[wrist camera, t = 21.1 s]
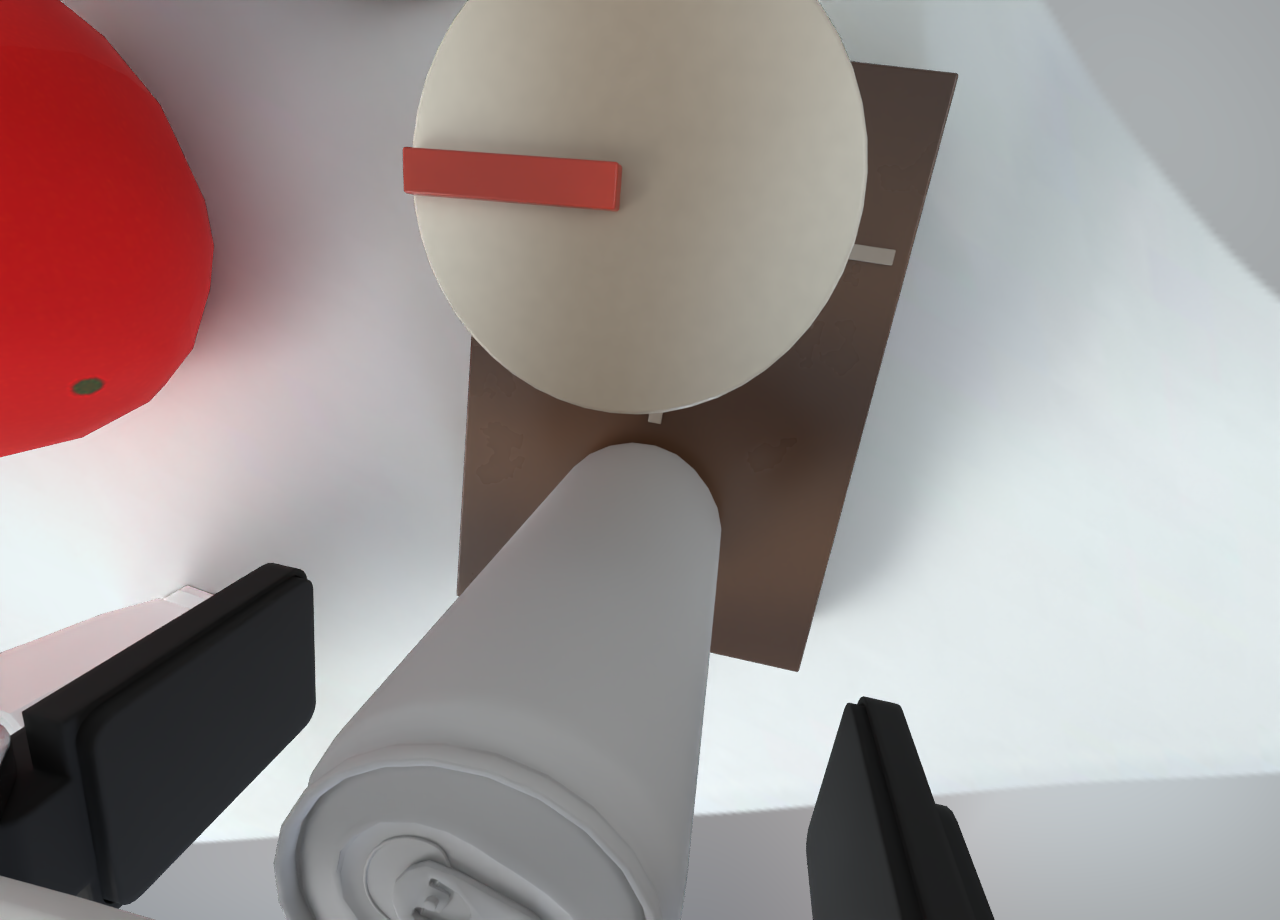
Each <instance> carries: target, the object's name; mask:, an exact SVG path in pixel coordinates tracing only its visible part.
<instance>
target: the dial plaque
mask: <svg viewBox="0 0 1280 920" xmlns="http://www.w3.org/2000/svg"><path fill="white" fill-rule="evenodd" d="M850 62H851V64H852V67H853V69H854V73H855V77H856V80H857V84H858V88H859V91H860V95H861V99H862V103H863V110H864V117H865V124H866V132H867V164H868V174H867V182H866V191H865V199H864V207H863V212H862V216H861V220H860V224H859V228H858V232H857V236H856V240H855V243H854V246H853V248H852V251H851V253H850V256H849V259H848V261H847V264H846V266H845V269H844V272H843V274H842V276H841V277H840V279H839V281H838V283H837V285H836V287H835V289H834V291H833V293H832V294H831V296H830V298H829V300H828V302H827V303H826V305H825V306H824V307H823V309H822V310H821V312H820V313H819V315H818V316H817V317H816V319H815V320H814V322H813V323H812V325H811V326H810V327H809V328H808V330H807V331H806V332H805V333H804V334H803V335H802V336H801V337H800V338H799V340H798V341H797V342H796V343H795V344H794V345H793V346H792V347H791V348H790V350H788V351H787V352H786V353H785V354H784V355H783V356H782V357H780V358H779V359H778V360H777V361H776V362H775V363H773V364H772V365H771V366H770V367H769V368H768V369H766V370H765V371H763V372H762V373H760V374H759V375H757V376H756V377H754V378H753V379H751V380H750V381H748V382H747V383H745V384H744V385H742V386H740V387H738V388H736V389H734V390H732V391H730V392H728V393H726V394H724V395H722V396H720V397H718V398H716V399H713V400H710V401H707V402H704V403H701V404H698V405H695V406H692V407H689V408H684V409H679V410H674V411H669V412H664V413H650V414H622V413H609V412H603V411H598V410H593V409H588V408H583V407H580V406H577V405H574V404H571V403H568V402H565V401H562V400H559V399H557V398H555V397H553V396H551V395H549V394H546V393H544V392H542V391H540V390H538V389H536V388H534V387H533V386H531V385H529V384H528V383H526V382H525V381H523V380H522V379H520V378H518V377H517V376H515V375H514V374H512V373H511V372H510V371H509V370H507V369H506V368H505V367H504V366H503V365H501V364H500V363H499V362H498V361H497V360H495V359H494V358H493V357H492V356H491V355H490V354H489V353H488V352H487V351H486V350H485V349H484V348H483V347H482V346H481V345H480V344H479V343H478V342H477V341H476V340H475V339H474V337H473V336H472V337H471V354H470V371H469V388H468V406H467V423H466V440H465V457H464V475H463V492H462V509H461V527H460V544H459V561H458V578H457V596H460V595H461V594H462V593H463V592H464V591H465V589H466V588H467V587H468V586H469V585H470V584H471V583H472V582H473V580H474V579H475V578H476V577H477V576H478V575H479V574H480V572H481V571H482V570H483V569H484V568H485V567H486V566H487V565H488V563H489V562H490V561H491V560H492V559H493V558H494V557H495V556H496V554H497V553H498V552H499V551H500V550H501V549H502V548H503V546H504V545H505V544H506V543H507V542H508V541H509V540H510V539H511V537H512V536H513V535H514V534H515V533H516V532H517V531H518V529H519V528H520V527H521V526H522V525H523V524H524V523H525V522H526V520H527V519H528V518H529V517H530V516H531V515H532V514H533V512H534V511H535V510H536V509H537V508H538V507H539V506H540V505H541V503H542V502H543V501H544V500H545V499H546V498H547V497H548V496H549V494H550V493H551V492H552V491H553V490H554V489H555V488H556V486H557V485H558V484H559V483H560V482H561V481H562V480H563V479H564V477H565V476H566V475H567V474H568V473H569V472H570V471H571V469H572V468H573V467H574V466H576V465H577V464H578V463H579V462H581V461H582V460H583V459H584V458H586V457H587V456H588V455H589V454H591V453H594V452H596V451H598V450H601V449H603V448H605V447H608V446H611V445H618V444H626V443H639V444H647V445H655V446H657V447H660V448H662V449H665V450H667V451H669V452H672V453H674V454H677V455H678V456H679V457H680V458H681V459H683V460H684V461H685V462H686V463H687V464H689V465H690V466H691V467H692V468H693V469H694V470H695V471H696V472H697V474H698V475H699V476H700V478H701V479H702V480H703V482H704V483H705V484H706V486H707V487H708V488H709V491H710V493H711V495H712V497H713V499H714V502H715V504H716V506H717V508H718V513H719V518H720V524H721V539H720V551H719V562H718V574H717V584H716V595H715V605H714V615H713V626H712V636H711V646H710V652H711V653H715V654H719V655H724V656H728V657H733V658H737V659H742V660H746V661H751V662H755V663H760V664H764V665H769V666H773V667H777V668H782V669H786V670H791V671H795V672H798V671H799V668H800V665H801V661H802V657H803V653H804V650H805V646H806V642H807V639H808V635H809V631H810V627H811V624H812V620H813V616H814V612H815V609H816V605H817V601H818V598H819V594H820V590H821V586H822V583H823V579H824V575H825V571H826V568H827V564H828V560H829V557H830V553H831V549H832V545H833V542H834V538H835V534H836V531H837V527H838V523H839V519H840V516H841V512H842V508H843V504H844V501H845V497H846V493H847V490H848V486H849V482H850V478H851V475H852V471H853V467H854V463H855V460H856V456H857V452H858V449H859V445H860V441H861V437H862V434H863V430H864V426H865V422H866V419H867V415H868V411H869V408H870V404H871V400H872V396H873V393H874V389H875V385H876V381H877V378H878V374H879V370H880V367H881V363H882V359H883V355H884V352H885V348H886V344H887V340H888V337H889V333H890V329H891V326H892V322H893V318H894V314H895V311H896V307H897V303H898V300H899V296H900V292H901V288H902V285H903V281H904V277H905V273H906V270H907V266H908V262H909V259H910V255H911V251H912V247H913V244H914V240H915V236H916V232H917V229H918V225H919V221H920V218H921V214H922V210H923V206H924V203H925V199H926V195H927V191H928V188H929V184H930V180H931V177H932V173H933V169H934V165H935V162H936V158H937V154H938V150H939V147H940V143H941V139H942V136H943V132H944V128H945V124H946V121H947V117H948V113H949V110H950V106H951V102H952V98H953V95H954V91H955V87H956V83H957V80H958V74H957V73H951V72H942V71H933V70H924V69H915V68H906V67H897V66H889V65H880V64H871V63H862V62H853V61H850Z"/></svg>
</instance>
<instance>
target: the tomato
mask: <svg viewBox="0 0 1280 920" xmlns="http://www.w3.org/2000/svg"><path fill="white" fill-rule="evenodd" d="M213 250H214V244H213V239H212V234H211V229H210V224H209V219H208V214H207V209H206V204H205V200H204V198H203V195H202V193H201V191H200V189H199V187H198V185H197V182H196V180H195V178H194V176H193V174H192V172H191V170H190V167H189V165H188V163H187V161H186V159H185V157H184V154H183V152H182V150H181V148H180V146H179V144H178V141H177V139H176V137H175V135H174V133H173V131H172V129H171V126H170V124H169V122H168V120H167V118H166V116H165V114H164V112H163V110H162V108H161V106H160V104H159V103H158V101H157V100H156V99H155V98H154V97H153V95H152V94H151V93H150V92H149V90H148V89H147V88H146V87H145V86H144V84H143V83H142V82H141V81H140V80H139V78H138V77H137V76H136V75H135V73H134V72H133V71H132V70H131V69H130V67H129V66H128V65H127V64H126V63H125V61H124V60H123V59H122V58H121V56H120V55H119V54H118V53H117V52H116V50H115V49H114V48H113V47H112V46H111V44H110V43H109V42H108V41H107V39H106V38H105V37H104V36H103V35H102V34H100V33H99V32H98V31H97V30H95V29H94V28H93V27H92V26H91V25H89V24H88V23H87V22H86V21H84V20H83V19H82V18H81V17H79V16H78V15H77V14H76V13H74V12H73V11H72V10H71V9H70V8H68V7H67V6H66V5H65V4H63V3H62V2H61V1H60V0H0V457H3V456H7V455H12V454H16V453H20V452H24V451H28V450H32V449H36V448H40V447H45V446H49V445H53V444H57V443H61V442H65V441H69V440H74V439H78V438H82V437H84V436H86V435H88V434H89V433H91V432H93V431H95V430H97V429H99V428H101V427H103V426H104V425H106V424H108V423H110V422H112V421H114V420H116V419H118V418H119V417H121V416H123V415H125V414H127V413H129V412H131V411H133V410H134V409H136V408H138V407H140V406H142V405H144V404H146V403H148V402H149V401H150V400H151V399H152V398H153V397H154V396H155V395H156V394H157V393H158V392H159V391H160V390H161V389H162V387H163V386H164V385H165V384H166V383H167V381H168V380H169V379H170V378H171V376H172V375H173V374H174V372H175V371H176V370H177V369H178V367H179V366H180V365H181V363H182V362H183V361H184V359H185V358H186V357H187V356H188V354H189V353H190V352H191V350H192V349H193V346H194V343H195V339H196V336H197V332H198V329H199V325H200V322H201V318H202V315H203V311H204V308H205V305H206V301H207V298H208V294H209V291H210V283H211V272H212V261H213Z"/></svg>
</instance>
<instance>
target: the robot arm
mask: <svg viewBox="0 0 1280 920" xmlns="http://www.w3.org/2000/svg"><path fill="white" fill-rule="evenodd" d="M315 705H316V692H315V649H314V605H313V585H312V583H311V581H309V580H307V577H306V574H305V573H304V571H302V570H301V569H297V568H293V567H288V566H284V565H279V564H275V563H267V564H265V565H262V566H261V567H259V568H257V569H256V570H254V571H252V572H251V573H249V574H248V575H246V576H244V577H243V578H241V579H239V580H238V581H236V582H234V583H233V584H231V585H229V586H228V587H226V588H224V589H223V590H221V591H220V592H218V593H216V594H215V595H213V596H211V597H210V598H208V599H206V600H205V601H203V602H201V603H200V604H198V605H196V606H195V607H193V608H192V609H190V610H188V611H187V612H185V613H183V614H182V615H180V616H178V617H177V618H175V619H173V620H172V621H170V622H169V623H167V624H165V625H164V626H162V627H160V628H159V629H157V630H155V631H154V632H152V633H150V634H149V635H147V636H145V637H144V638H142V639H141V640H139V641H137V642H136V643H134V644H132V645H131V646H129V647H127V648H126V649H124V650H122V651H121V652H119V653H117V654H116V655H114V656H113V657H111V658H109V659H108V660H106V661H104V662H103V663H101V664H99V665H98V666H96V667H94V668H93V669H91V670H89V671H88V672H86V673H85V674H83V675H81V676H80V677H78V678H76V679H75V680H73V681H71V682H70V683H68V684H66V685H65V686H63V687H62V688H60V689H58V690H57V691H55V692H53V693H52V694H50V695H48V696H47V697H45V698H43V699H42V700H40V701H38V702H37V703H35V704H34V705H32V706H30V707H29V708H27V709H25V710H24V711H22V716H23V721H24V727H23V728H21V729H20V730H18V731H17V732H15V733H13V734H12V735H10V734H9V732H8V731H7V730H6V728H5V727H4V726H3V725H1V724H0V920H154V919H151V918H147V917H144V916H141V915H137V914H134V913H131V912H127V911H124V910H121V909H119V908H120V907H121V906H122V905H126V904H130V903H132V902H133V901H135V900H136V899H138V898H139V897H140V896H141V895H142V894H143V893H144V892H145V891H146V890H147V889H148V888H149V887H150V886H151V885H152V884H153V883H154V882H155V881H156V880H157V879H158V878H159V877H160V875H162V873H164V872H165V871H166V869H167V868H168V867H169V866H170V865H171V864H172V863H173V862H174V861H175V860H176V859H177V858H178V857H179V856H180V855H181V854H182V853H183V852H184V851H185V850H186V849H187V848H188V847H189V846H190V845H191V844H192V843H193V842H194V841H195V840H196V839H197V838H198V837H199V836H200V835H201V834H202V832H203V831H204V830H205V829H206V828H207V827H208V826H209V825H210V824H211V823H212V822H213V821H214V820H215V819H216V818H217V817H218V816H219V815H220V814H221V813H222V812H223V811H224V810H225V809H226V808H227V807H228V806H229V805H230V804H231V803H232V802H233V801H234V800H235V798H236V797H237V796H238V795H239V794H240V793H241V792H242V791H243V790H244V789H245V788H246V787H247V786H248V785H249V784H250V783H251V782H252V781H253V780H254V779H255V778H256V777H257V776H258V775H259V774H260V773H261V772H262V771H263V770H264V769H265V768H266V767H267V766H268V764H269V763H270V762H271V761H272V760H273V759H274V758H275V757H276V756H277V755H278V754H279V753H280V752H281V751H282V750H283V749H284V748H285V747H286V746H287V745H288V744H289V743H290V742H291V741H292V740H293V739H294V738H295V737H296V736H297V735H298V734H299V733H300V732H301V730H302V729H303V728H304V727H305V726H306V725H307V724H308V723H309V721H310V719H311V718H312V715H313V713H314V710H315ZM806 854H807V865H808V874H809V885H810V894H811V905H812V915H813V920H994V917H993V914H992V912H991V909H990V907H989V904H988V901H987V899H986V896H985V894H984V891H983V888H982V886H981V883H980V880H979V878H978V875H977V872H976V870H975V867H974V865H973V862H972V859H971V856H970V854H969V851H968V848H967V846H966V843H965V841H964V838H963V836H962V833H961V830H960V828H959V825H958V822H957V820H956V818H955V816H954V814H953V812H952V811H951V810H950V809H949V808H948V807H947V806H943V805H939V804H935V802H934V799H933V796H932V793H931V790H930V787H929V785H928V782H927V779H926V776H925V773H924V770H923V767H922V765H921V762H920V759H919V756H918V753H917V750H916V747H915V745H914V742H913V739H912V736H911V733H910V730H909V728H908V725H907V722H906V719H905V716H904V713H903V710H902V708H901V707H900V705H898V704H895V703H891V702H886V701H882V700H877V699H873V698H868V697H864V696H863V697H861V698H860V700H859V701H858V704H853V703H847V705H846V706H845V709H844V712H843V715H842V719H841V722H840V725H839V729H838V732H837V735H836V739H835V742H834V745H833V749H832V752H831V755H830V758H829V762H828V765H827V768H826V772H825V775H824V778H823V782H822V785H821V788H820V792H819V795H818V798H817V802H816V805H815V808H814V811H813V815H812V818H811V822H810V825H809V829H808V834H807V843H806Z"/></svg>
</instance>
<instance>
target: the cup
mask: <svg viewBox="0 0 1280 920" xmlns="http://www.w3.org/2000/svg"><path fill="white" fill-rule="evenodd" d="M211 596H213V594H210V593H207V592H205V591H202V590H199V589H196V588H193V587H190V586H185V587H183V588H181V589H180V590H178V591H176V592H174V593H173V594H171V595H169V596H167V597H166V598H164V599H161V598H158V599H154V600H151V601H147V602H144V603H140V604H136V605H133V606H129V607H125V608H122V609H118V610H115V611H111V612H107V613H104V614H100V615H98V616H95V617H93V618H90V619H88V620H85V621H82V622H80V623H77V624H75V625H72V626H70V627H67V628H64V629H62V630H59V631H57V632H54V633H52V634H49V635H46V636H44V637H41V638H39V639H36V640H33V641H31V642H28V643H26V644H23V645H20V646H17V647H15V648H12V649H9V650H6V651H4V652H1V653H0V724H1V725H3V726H4V727H5V728H6V730H7V731H8V732H9V734H10V735H12V734H13V733H15V732H17V731H18V730H20V729H21V728H23V727H24V721H23V716H22V711H24V710H25V709H27V708H29V707H30V706H32V705H34V704H35V703H37V702H38V701H40V700H42V699H43V698H45V697H47V696H48V695H50V694H52V693H53V692H55V691H57V690H58V689H60V688H62V687H63V686H65V685H66V684H68V683H70V682H71V681H73V680H75V679H76V678H78V677H80V676H81V675H83V674H85V673H86V672H88V671H89V670H91V669H93V668H94V667H96V666H98V665H99V664H101V663H103V662H104V661H106V660H108V659H109V658H111V657H113V656H114V655H116V654H117V653H119V652H121V651H122V650H124V649H126V648H127V647H129V646H131V645H132V644H134V643H136V642H137V641H139V640H141V639H142V638H144V637H145V636H147V635H149V634H150V633H152V632H154V631H155V630H157V629H159V628H160V627H162V626H164V625H165V624H167V623H169V622H170V621H172V620H173V619H175V618H177V617H178V616H180V615H182V614H183V613H185V612H187V611H188V610H190V609H192V608H193V607H195V606H196V605H198V604H200V603H201V602H203V601H205V600H206V599H208V598H210V597H211Z"/></svg>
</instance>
